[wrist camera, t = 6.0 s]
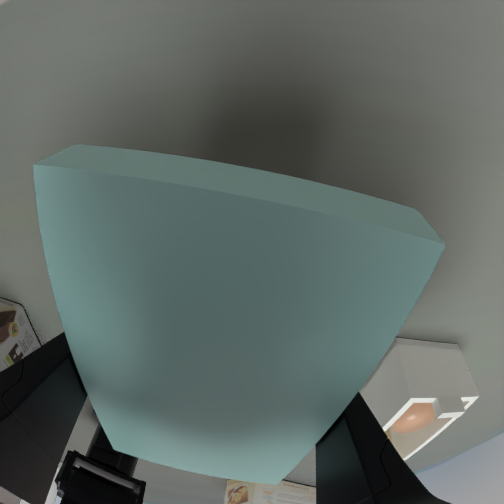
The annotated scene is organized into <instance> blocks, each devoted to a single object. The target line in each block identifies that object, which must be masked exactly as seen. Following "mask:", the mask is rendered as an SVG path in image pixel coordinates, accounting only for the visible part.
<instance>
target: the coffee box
mask: <svg viewBox="0 0 504 504" xmlns="http://www.w3.org/2000/svg"><path fill="white" fill-rule="evenodd" d="M39 347H41V346H40V344H39V342H38V340H37V337H36V335H35V333H34V331H33V329H32V327H31V325H30V322H29V320H28V318H27V316H26V313H25V311H24V308H23V307H22V306H21V305H19V304H16V303H13V302H10V301H7V300H4V299H1V298H0V372H1V371H3V370H4V369H6V368H8V367H9V366H11V365H13V364H14V363H16V362H17V361H19V360H20V359H22V358H23V359H24V357H25V356H27V355H28V354H30V353H31V352H33V351H34V350H36V349H38V348H39Z"/></svg>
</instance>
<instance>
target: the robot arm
mask: <svg viewBox="0 0 504 504" xmlns="http://www.w3.org/2000/svg"><path fill="white" fill-rule="evenodd" d="M87 396H88V394H87V392H86V390H85V387H84V385H83V382H82V380H81V377H80V375H79V372H78V369H77V367H76V364H75V361H74V359H73V356H72V353H71V350H70V347H69V344H68V341H67V338H66V335H65V332H63V333H61V334H60V335H58V336H56V337H55V338H53V339H52V340H50V341H49V342H47V343H45V344H44V345H42V346H41V347H39V348H38V349H36V350H34V351H33V352H31V353H30V354H28V355H27V356H25V357H24V359H23V358H22V359H20V360H19V361H17V362H16V363H14V364H13V365H11V366H9V367H8V368H6V369H4V370H3V371H1V372H0V504H20V501H21V499H22V500H24V501H26V502H28V503H29V504H45V502H46V499H47V496H48V493H49V490H50V487H51V485H52V482H53V479H54V476H55V474H56V471H57V468H58V465H59V463H60V460H61V457H62V455H63V452H64V450H65V447H66V445H67V442H68V440H69V437H70V435H71V433H72V430H73V428H74V425H75V423H76V421H77V418H78V416H79V414H80V412H81V409H82V407H83V405H84V402H85V400H86V398H87ZM92 413H93V415H94V417H95V419H96V421H97V423H98V426H97V429H96V431H95V434H94V436H93V438H92V441H91V443H90V446H89V448H88V451H87V453H86V456H84V455H82V454H80V453H79V452H77V451H75V450H74V452H73V451H69V450H68V452H67V454H66V457H65V459H64V461H63V464H62V466H61V468H60V470H59V472H58V474H57V476H56V478H55V483H56V485H57V490H58V491H57V496H59V497H61V498H62V500H61V503H60V504H142V503H143V497H144V492H145V487H146V482H145V481H142V480H141V481H140V480H137V479H135V478H132V477H133V474H134V470H135V467H136V464H137V461H138V458H137V457H134V456H131V455H128V454H125V453H122V452H119V451H116V450H114V449H113V447H112V445H111V443H110V441H109V439H108V437H107V435H106V433H105V431H104V429H103V427H102V425H101V423H100V421H99V419H98V417H97V415H96V412H95V410H94V409H93V411H92ZM387 438H388V436H387V435H386V433H385V432H384V430H383V428H382V427H381V425H380V424H379V422H378V421H377V419H376V417H375V416H374V414H373V413H372V411H371V410H370V408H369V407H368V405H367V403H366V402H365V400H364V399H363V397H362V396H361V394H360V393H359V391H358V393H357V394H356V395H355V397H354V398H353V399H352V401H351V402H350V403H349V404H348V406H347V407H346V408H345V410H344V411H343V412H342V413H341V415H340V416H339V417H338V418H337V420H336V421H335V422H334V423H333V424H332V426H331V427H330V428H329V429H328V430H327V432H326V433H325V434H324V435H323V436H322V437H321V439H320V440H319V441H318V442H317V443H316V504H451V503H448V502H445V501H443V500H440V499H438V498H437V497H435V496H433V495H432V494H431V493H430V492H429V491H428V490H427V489H426V488H425V487H424V485H423V484H422V483H421V482H420V480H418V478H417V477H416V475H415V474H414V473H413V472H412V470H411V469H410V468H409V467H408V465H407V464H406V463H405V461H404V460H403V459H402V457H401V456H400V455H399V453H398V452H397V450H396V449H395V447H394V446H393V444H392V443H391V441H390V439H387ZM75 464H77V465H79V466H80V467H79V468H77V467H75Z"/></svg>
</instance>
